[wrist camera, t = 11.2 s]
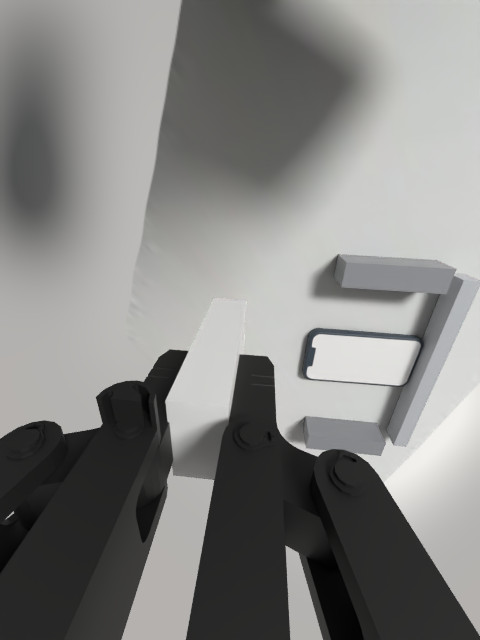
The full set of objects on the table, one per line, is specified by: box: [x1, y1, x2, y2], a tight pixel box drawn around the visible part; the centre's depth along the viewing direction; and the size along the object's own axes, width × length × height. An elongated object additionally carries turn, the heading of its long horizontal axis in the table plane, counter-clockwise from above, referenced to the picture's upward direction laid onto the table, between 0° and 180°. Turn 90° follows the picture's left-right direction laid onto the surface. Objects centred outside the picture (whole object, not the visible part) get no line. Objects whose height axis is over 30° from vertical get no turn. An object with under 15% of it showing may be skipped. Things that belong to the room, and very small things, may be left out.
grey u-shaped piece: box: [303, 254, 480, 456], centre depth 39 cm, size 31×16×4 cm, turn 178°
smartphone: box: [302, 328, 424, 387], centre depth 41 cm, size 9×2×16 cm
